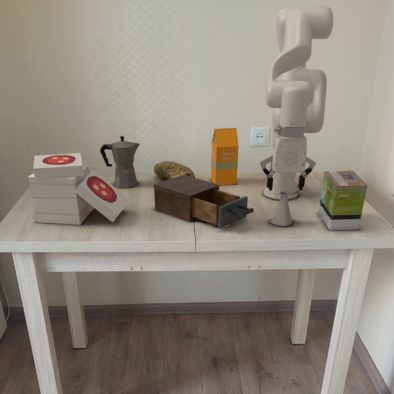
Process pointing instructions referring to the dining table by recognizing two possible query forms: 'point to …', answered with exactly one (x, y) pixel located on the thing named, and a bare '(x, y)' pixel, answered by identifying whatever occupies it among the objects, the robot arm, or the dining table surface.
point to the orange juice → (224, 156)
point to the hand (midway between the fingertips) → (285, 189)
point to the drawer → (220, 208)
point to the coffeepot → (122, 162)
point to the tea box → (342, 200)
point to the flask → (282, 211)
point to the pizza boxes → (71, 190)
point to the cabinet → (180, 195)
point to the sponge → (172, 170)
